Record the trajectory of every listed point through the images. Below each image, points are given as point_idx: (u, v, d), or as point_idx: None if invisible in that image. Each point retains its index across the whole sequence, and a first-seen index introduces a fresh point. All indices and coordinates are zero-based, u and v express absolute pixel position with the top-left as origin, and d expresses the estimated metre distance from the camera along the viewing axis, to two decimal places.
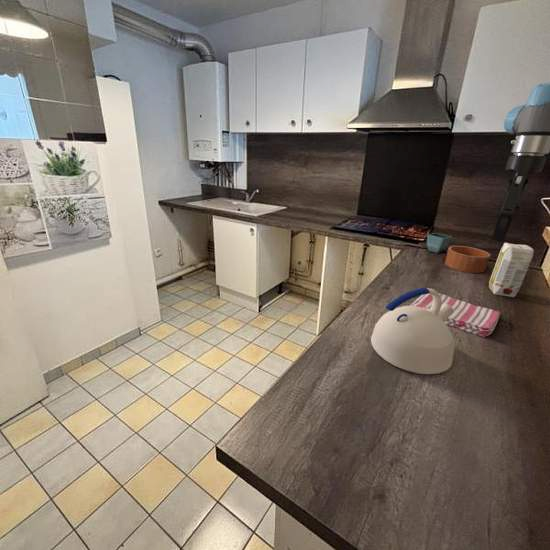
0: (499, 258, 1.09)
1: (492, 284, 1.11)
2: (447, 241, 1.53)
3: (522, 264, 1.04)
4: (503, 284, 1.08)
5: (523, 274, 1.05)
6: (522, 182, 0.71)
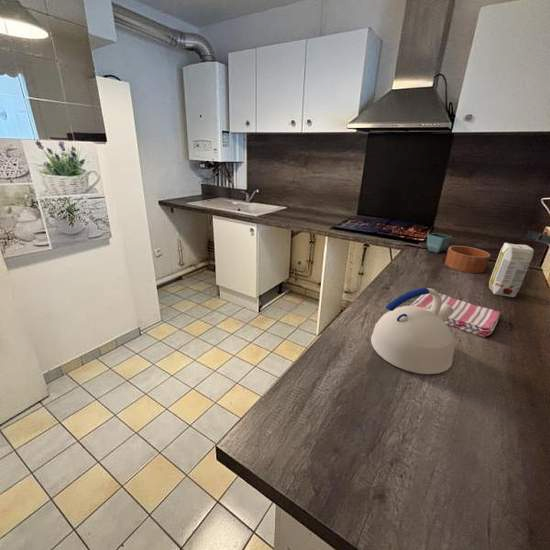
0: (499, 258, 1.09)
1: (492, 284, 1.11)
2: (447, 241, 1.53)
3: (522, 264, 1.04)
4: (503, 284, 1.08)
5: (523, 274, 1.05)
6: None
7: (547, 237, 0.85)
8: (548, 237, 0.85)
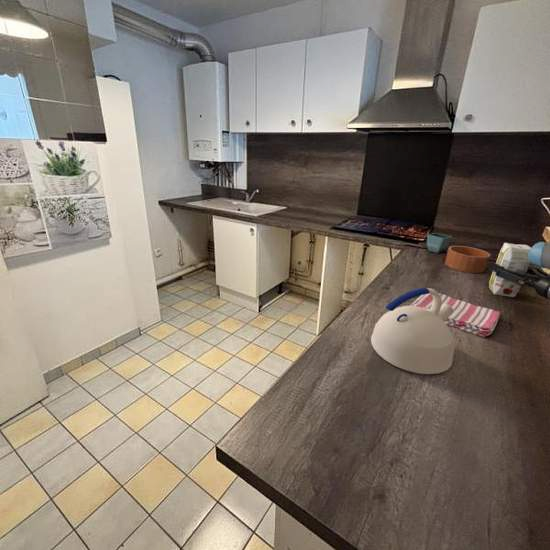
0: (499, 258, 1.09)
1: (492, 284, 1.11)
2: (447, 241, 1.53)
3: (522, 264, 1.04)
4: (504, 284, 1.08)
5: None
6: None
7: (503, 273, 1.03)
8: (503, 273, 1.02)
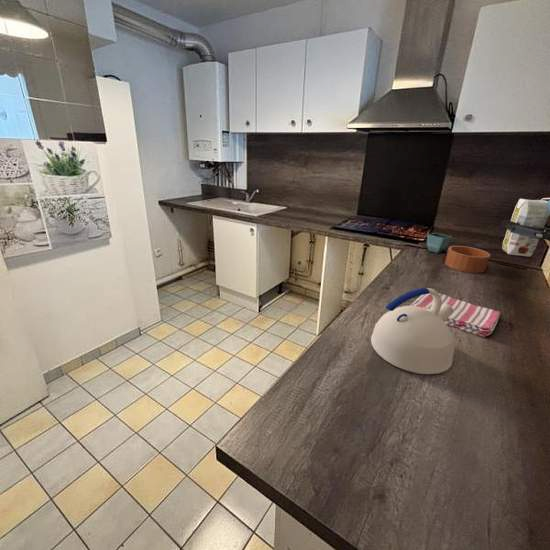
0: (514, 215, 1.03)
1: (506, 244, 1.05)
2: (447, 241, 1.53)
3: (540, 219, 0.97)
4: (519, 242, 1.02)
5: None
6: None
7: (519, 228, 0.97)
8: (520, 228, 0.96)
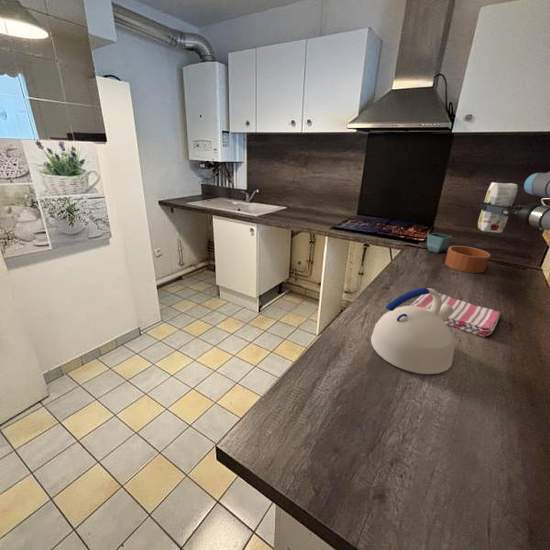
0: (487, 197, 1.18)
1: (480, 222, 1.21)
2: (447, 241, 1.53)
3: (507, 199, 1.13)
4: (491, 220, 1.17)
5: None
6: None
7: (489, 207, 1.12)
8: (490, 207, 1.12)
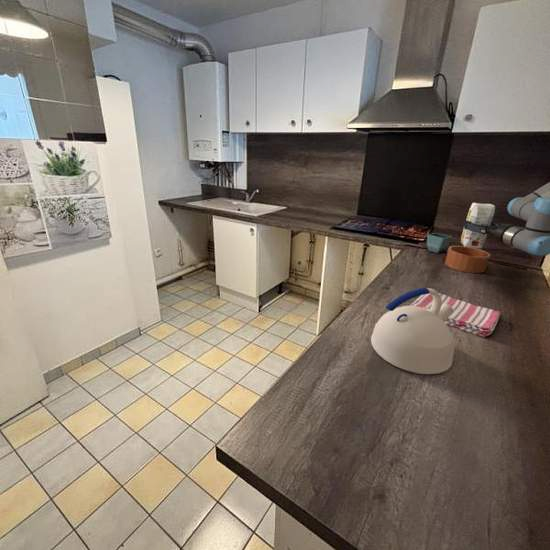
0: (468, 215, 1.31)
1: (463, 238, 1.33)
2: (447, 241, 1.53)
3: (486, 218, 1.25)
4: (472, 237, 1.30)
5: None
6: None
7: (470, 226, 1.24)
8: (470, 226, 1.24)
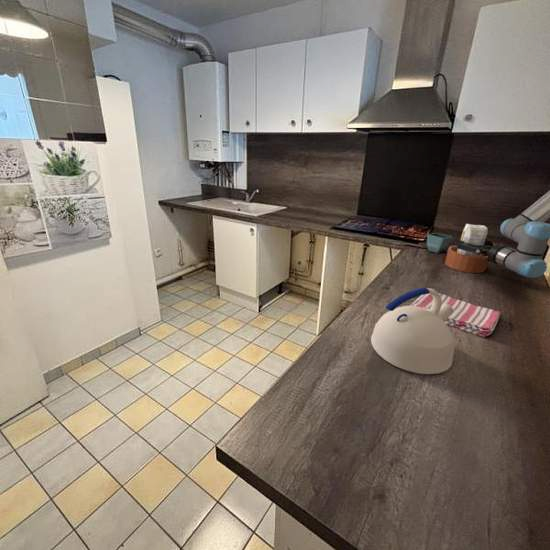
0: (462, 236, 1.35)
1: None
2: (447, 241, 1.53)
3: (479, 240, 1.29)
4: None
5: None
6: None
7: (463, 246, 1.26)
8: (463, 246, 1.26)
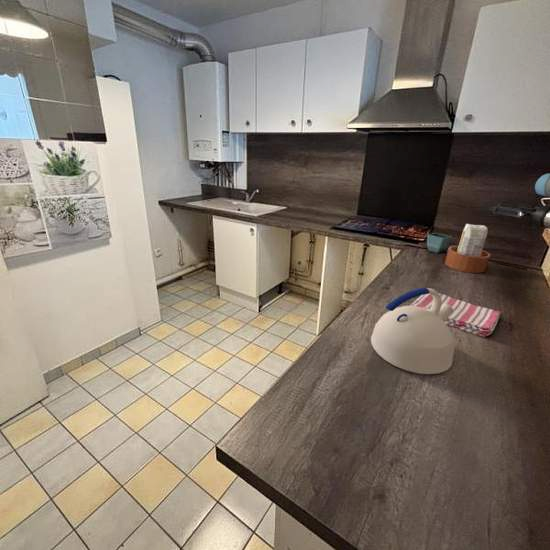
0: (462, 236, 1.35)
1: None
2: (447, 241, 1.53)
3: (479, 240, 1.29)
4: None
5: (480, 248, 1.31)
6: None
7: (501, 209, 1.07)
8: (502, 209, 1.07)
